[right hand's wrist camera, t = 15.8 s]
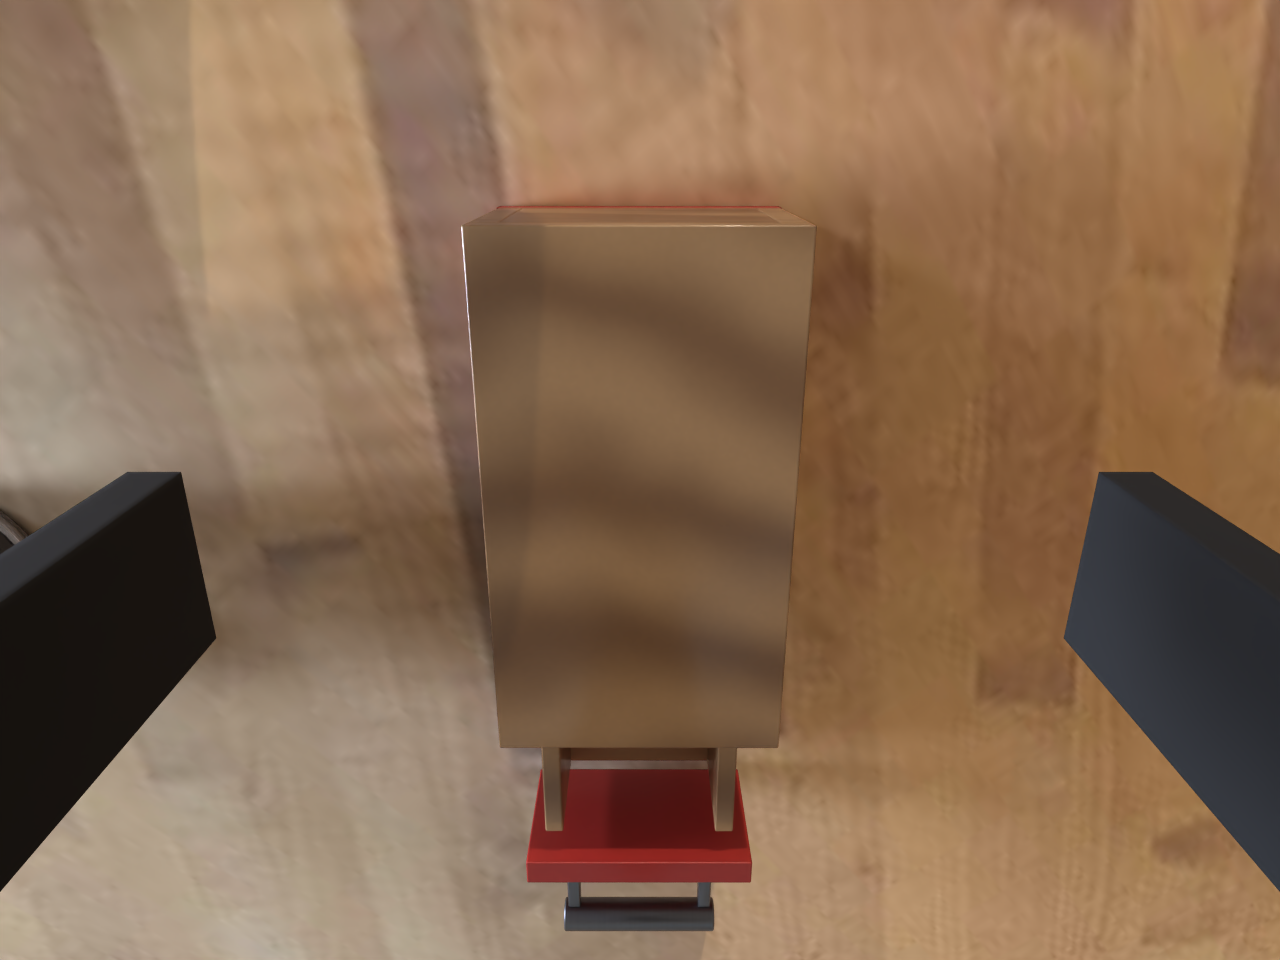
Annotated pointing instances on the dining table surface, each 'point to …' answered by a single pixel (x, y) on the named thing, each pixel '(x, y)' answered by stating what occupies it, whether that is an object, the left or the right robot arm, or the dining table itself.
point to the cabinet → (639, 466)
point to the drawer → (639, 835)
